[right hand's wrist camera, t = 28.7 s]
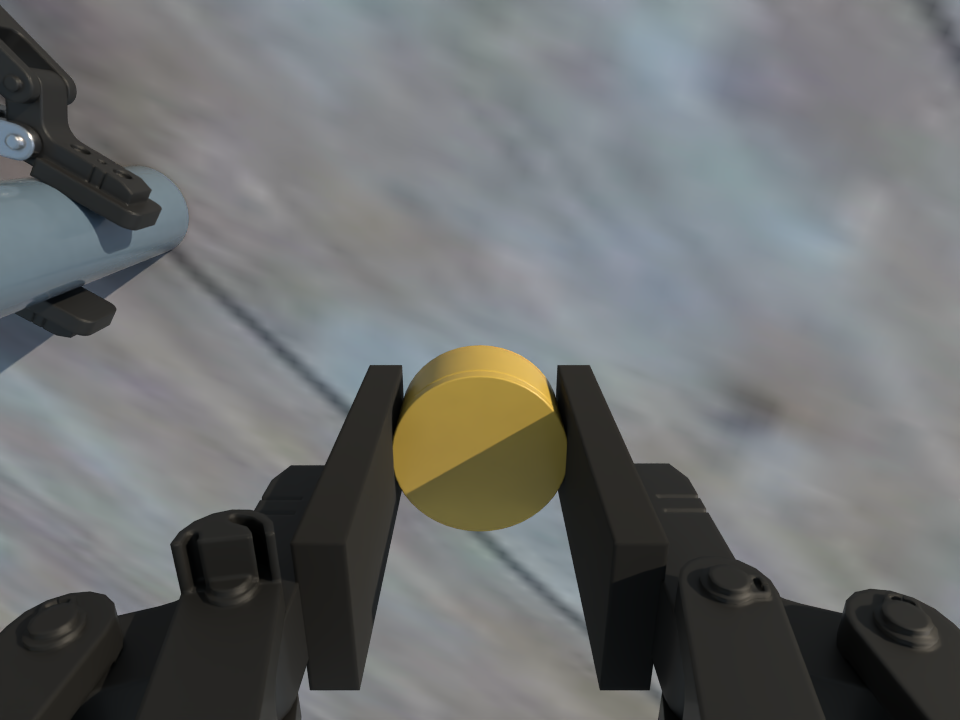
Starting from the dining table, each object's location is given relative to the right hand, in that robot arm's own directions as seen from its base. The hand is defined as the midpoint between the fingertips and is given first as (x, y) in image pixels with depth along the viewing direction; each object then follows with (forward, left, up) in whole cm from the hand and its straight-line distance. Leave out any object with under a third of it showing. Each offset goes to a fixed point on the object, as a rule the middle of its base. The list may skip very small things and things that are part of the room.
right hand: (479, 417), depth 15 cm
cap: (0, 0, +2) cm, 2 cm away
